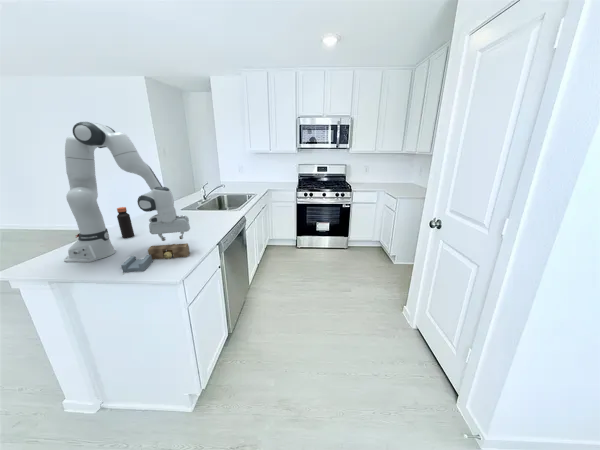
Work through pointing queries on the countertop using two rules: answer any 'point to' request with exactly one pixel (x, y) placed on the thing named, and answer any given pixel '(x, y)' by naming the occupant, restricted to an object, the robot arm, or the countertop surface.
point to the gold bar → (168, 254)
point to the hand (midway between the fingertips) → (172, 239)
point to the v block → (136, 264)
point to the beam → (177, 249)
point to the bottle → (125, 223)
